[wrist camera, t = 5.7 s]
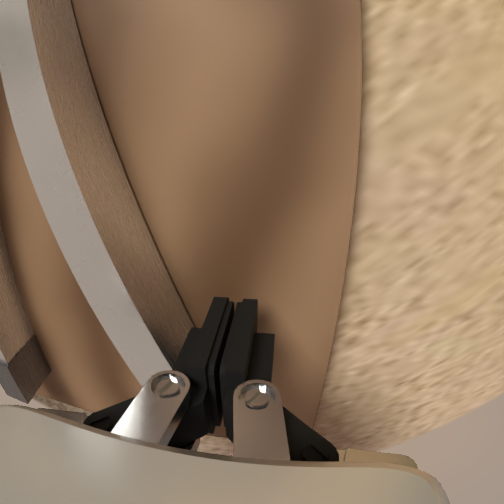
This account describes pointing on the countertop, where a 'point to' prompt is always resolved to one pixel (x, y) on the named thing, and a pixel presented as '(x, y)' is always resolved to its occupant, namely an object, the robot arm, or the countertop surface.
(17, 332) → the tongs fixed arm
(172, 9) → the walnut board
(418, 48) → the countertop surface
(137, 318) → the tongs arm
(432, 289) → the countertop surface
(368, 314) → the countertop surface
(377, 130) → the countertop surface
